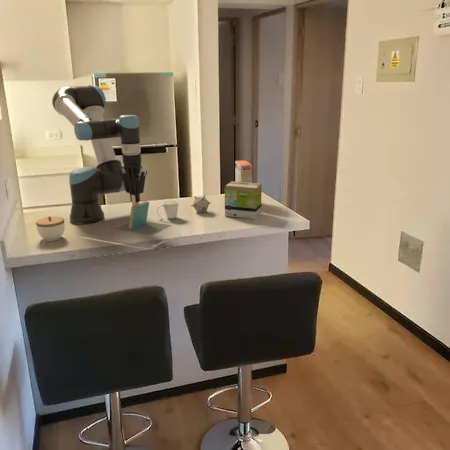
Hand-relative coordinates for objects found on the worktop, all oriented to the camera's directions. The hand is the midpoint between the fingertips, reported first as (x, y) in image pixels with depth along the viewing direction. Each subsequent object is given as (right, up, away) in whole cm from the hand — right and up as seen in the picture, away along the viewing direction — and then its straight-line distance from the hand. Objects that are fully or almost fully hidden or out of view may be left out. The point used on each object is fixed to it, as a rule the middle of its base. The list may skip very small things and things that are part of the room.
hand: (136, 209), depth 201 cm
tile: (0, -7, +3) cm, 7 cm away
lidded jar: (-32, -12, -9) cm, 36 cm away
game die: (+27, -1, +23) cm, 35 cm away
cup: (+12, -4, +13) cm, 18 cm away
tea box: (+46, -2, +18) cm, 50 cm away
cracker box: (+47, +4, +37) cm, 60 cm away
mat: (+3, -8, +1) cm, 9 cm away
